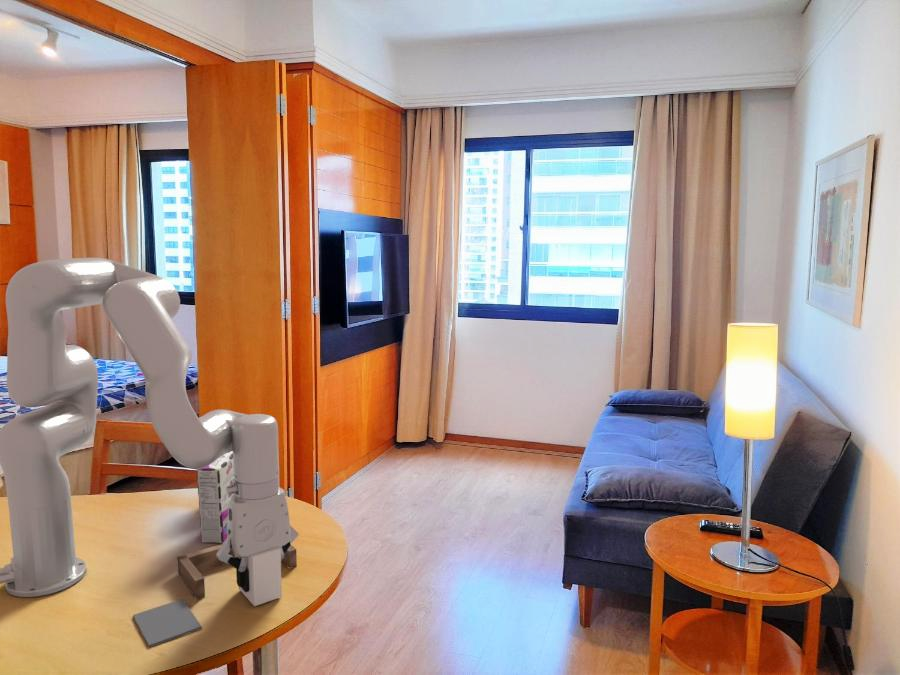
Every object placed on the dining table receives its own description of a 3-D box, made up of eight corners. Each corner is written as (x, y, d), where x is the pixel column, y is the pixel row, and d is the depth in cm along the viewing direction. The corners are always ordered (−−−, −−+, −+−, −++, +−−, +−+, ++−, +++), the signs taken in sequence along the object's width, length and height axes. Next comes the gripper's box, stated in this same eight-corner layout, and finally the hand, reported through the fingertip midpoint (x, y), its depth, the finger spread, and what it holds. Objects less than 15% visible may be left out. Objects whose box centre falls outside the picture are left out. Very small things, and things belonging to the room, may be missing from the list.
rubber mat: (149, 647, 100) (149, 645, 100) (133, 617, 107) (133, 614, 107) (201, 628, 105) (201, 626, 105) (182, 600, 112) (182, 598, 112)
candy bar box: (219, 519, 144) (216, 449, 141) (241, 520, 144) (239, 450, 141) (199, 543, 133) (195, 468, 130) (223, 544, 133) (220, 468, 130)
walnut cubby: (196, 599, 113) (195, 580, 112) (178, 574, 121) (177, 556, 120) (296, 566, 125) (296, 549, 124) (274, 545, 133) (273, 529, 132)
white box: (254, 606, 110) (252, 557, 109) (238, 588, 116) (237, 541, 114) (281, 596, 113) (280, 549, 112) (265, 579, 119) (264, 534, 117)
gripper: (215, 505, 103) (219, 609, 106) (311, 481, 114) (313, 576, 117) (199, 490, 109) (204, 589, 112) (293, 469, 120) (294, 560, 122)
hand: (259, 582), depth 114 cm, fingers closed on white box, 5 cm apart
